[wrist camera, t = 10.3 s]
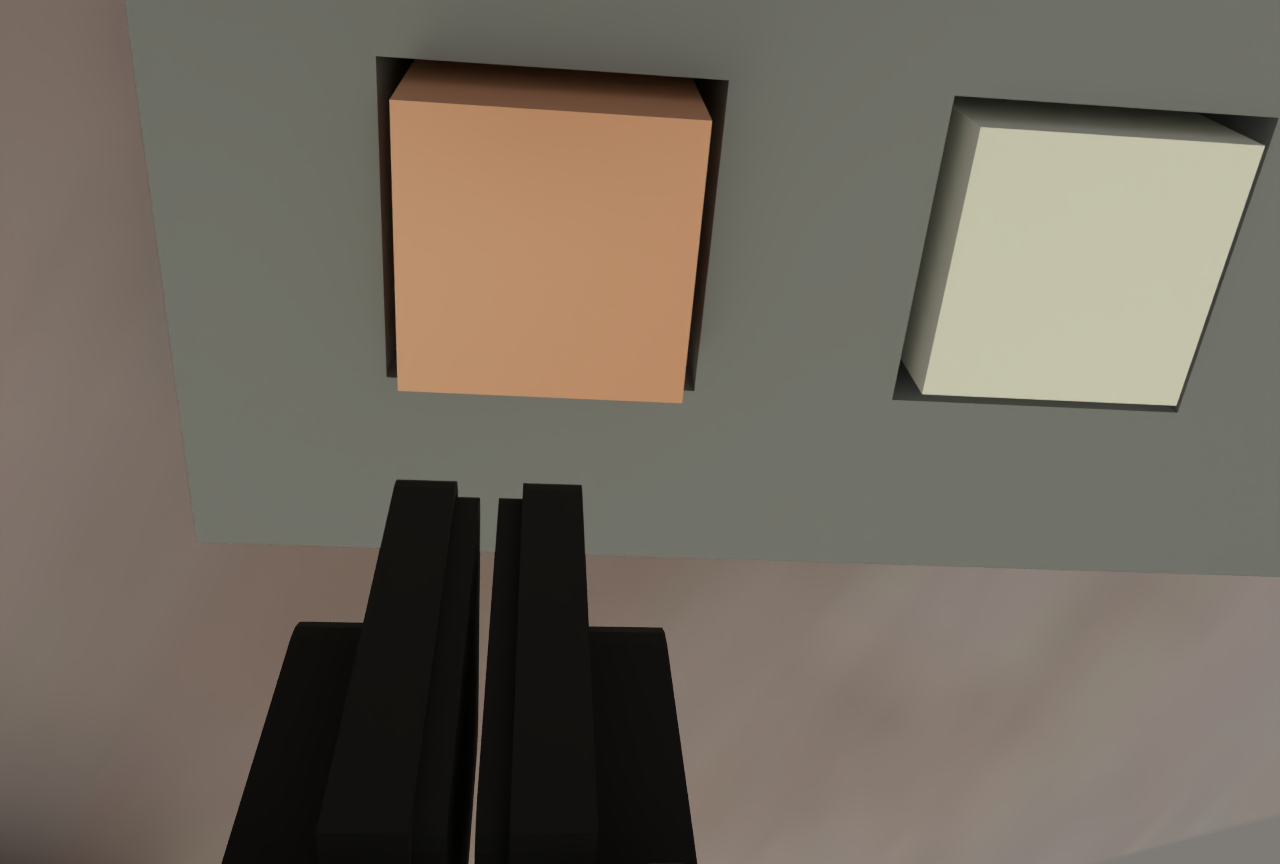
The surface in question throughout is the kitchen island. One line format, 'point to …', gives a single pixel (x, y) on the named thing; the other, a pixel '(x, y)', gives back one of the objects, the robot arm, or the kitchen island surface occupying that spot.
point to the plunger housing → (702, 286)
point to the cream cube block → (1073, 250)
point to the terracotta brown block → (545, 230)
